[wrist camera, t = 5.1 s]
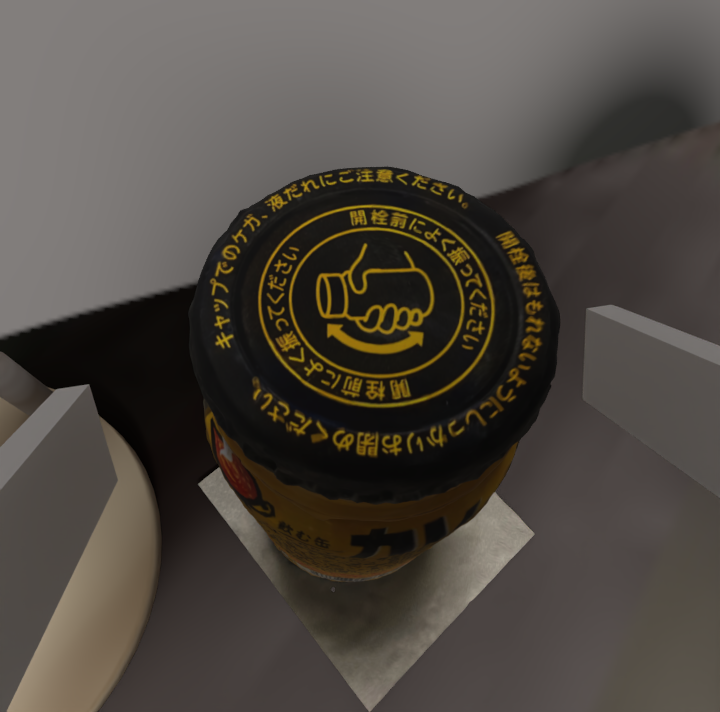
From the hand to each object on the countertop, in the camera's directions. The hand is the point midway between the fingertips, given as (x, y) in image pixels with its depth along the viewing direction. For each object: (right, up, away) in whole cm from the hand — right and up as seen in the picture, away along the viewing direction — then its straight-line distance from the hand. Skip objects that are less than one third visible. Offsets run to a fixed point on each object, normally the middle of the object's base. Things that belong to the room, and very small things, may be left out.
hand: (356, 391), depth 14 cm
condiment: (0, -4, +4) cm, 6 cm away
